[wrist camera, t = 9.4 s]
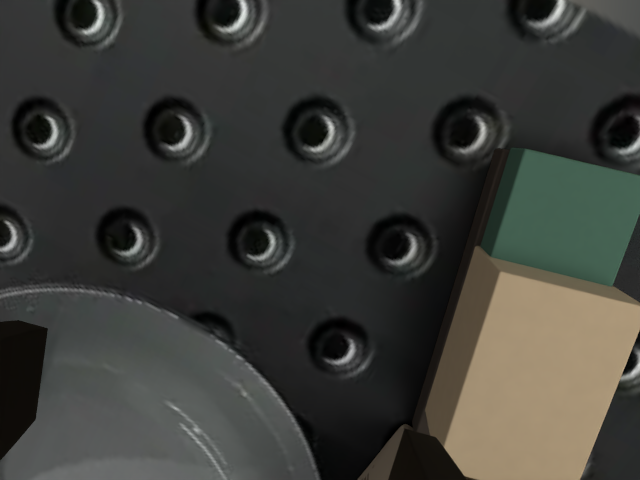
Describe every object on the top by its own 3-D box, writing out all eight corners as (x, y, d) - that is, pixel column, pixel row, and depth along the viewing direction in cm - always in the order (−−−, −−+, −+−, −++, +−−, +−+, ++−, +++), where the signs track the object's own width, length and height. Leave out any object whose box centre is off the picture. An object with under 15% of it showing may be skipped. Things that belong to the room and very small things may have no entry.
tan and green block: (516, 449, 20) (557, 541, 15) (411, 422, 20) (422, 504, 16) (615, 172, 18) (700, 186, 13) (495, 144, 18) (537, 148, 13)
